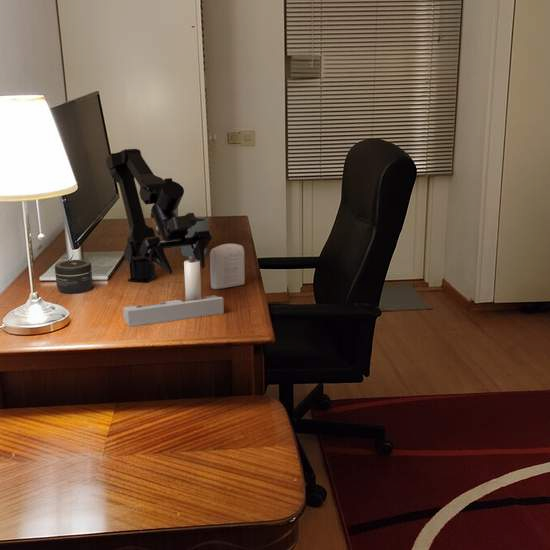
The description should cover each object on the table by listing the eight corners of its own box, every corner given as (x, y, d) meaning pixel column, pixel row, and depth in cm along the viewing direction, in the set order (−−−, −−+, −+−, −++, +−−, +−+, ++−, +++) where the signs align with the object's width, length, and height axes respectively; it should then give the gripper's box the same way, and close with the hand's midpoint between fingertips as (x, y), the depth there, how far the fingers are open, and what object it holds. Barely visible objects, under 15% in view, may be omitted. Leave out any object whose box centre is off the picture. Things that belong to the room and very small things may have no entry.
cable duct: (129, 326, 165) (128, 311, 164) (123, 318, 171) (122, 303, 170) (223, 313, 174) (223, 298, 173) (215, 305, 180) (215, 291, 179)
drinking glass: (184, 258, 227) (182, 223, 224) (175, 252, 236) (173, 217, 233) (213, 255, 231) (211, 220, 228) (203, 249, 240) (202, 215, 237)
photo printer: (239, 281, 201) (238, 240, 198) (247, 284, 198) (246, 243, 195) (208, 287, 196) (207, 245, 193) (215, 291, 193) (214, 248, 189)
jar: (76, 282, 202) (73, 257, 199) (100, 287, 197) (98, 261, 194) (49, 291, 193) (46, 265, 191) (74, 296, 188) (72, 270, 186)
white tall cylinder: (188, 314, 174) (186, 258, 170) (184, 309, 177) (181, 255, 173) (203, 311, 175) (201, 256, 171) (199, 307, 179) (197, 253, 175)
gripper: (141, 207, 171) (161, 258, 165) (207, 199, 181) (229, 248, 175) (131, 232, 179) (150, 282, 173) (195, 224, 189) (215, 271, 183)
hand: (187, 270), depth 176 cm, fingers open, 9 cm apart
